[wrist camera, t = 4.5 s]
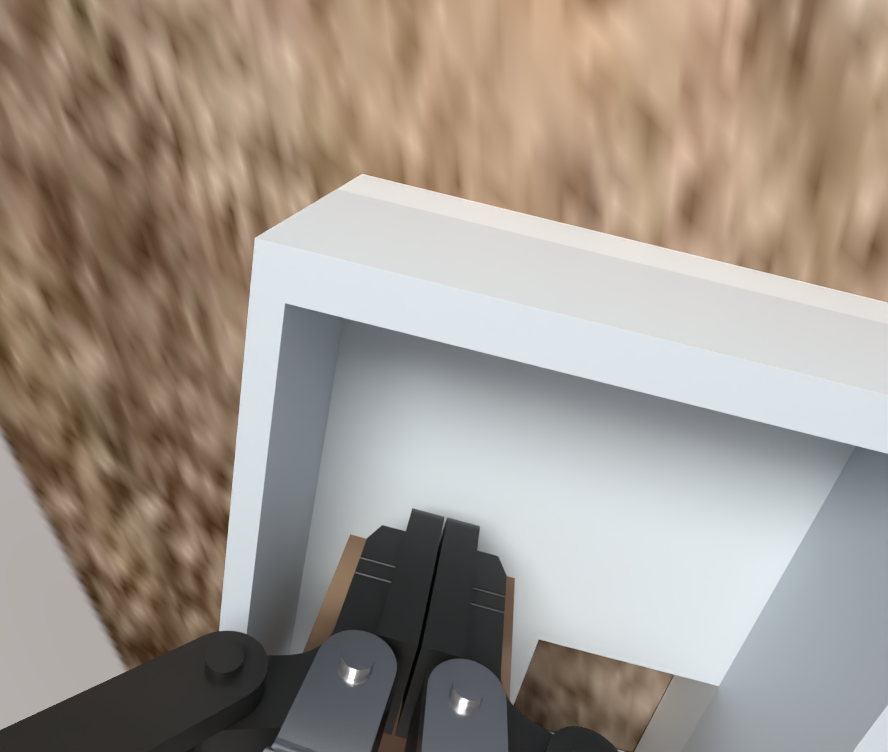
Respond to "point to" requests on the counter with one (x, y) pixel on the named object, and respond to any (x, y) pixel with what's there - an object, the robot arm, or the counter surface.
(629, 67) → the counter surface
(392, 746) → the walnut cube
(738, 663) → the cubby
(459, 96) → the counter surface
